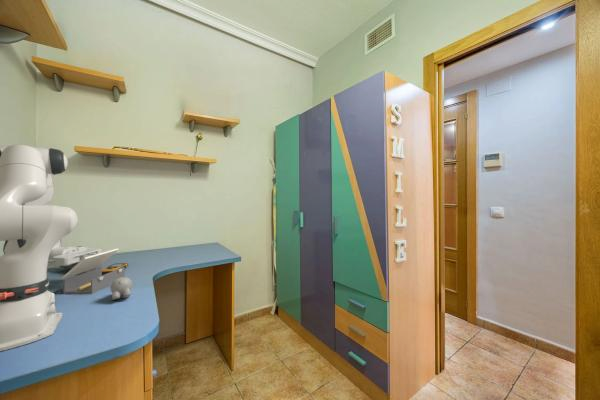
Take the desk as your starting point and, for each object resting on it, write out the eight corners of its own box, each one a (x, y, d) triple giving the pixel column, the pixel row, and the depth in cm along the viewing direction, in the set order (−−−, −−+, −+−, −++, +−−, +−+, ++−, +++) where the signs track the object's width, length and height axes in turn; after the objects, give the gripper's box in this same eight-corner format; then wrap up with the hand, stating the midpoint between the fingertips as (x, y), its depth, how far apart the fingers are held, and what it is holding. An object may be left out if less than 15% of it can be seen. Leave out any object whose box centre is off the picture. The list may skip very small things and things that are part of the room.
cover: (85, 258, 101) (84, 257, 101) (62, 279, 101) (61, 278, 101) (119, 249, 121) (117, 248, 121) (99, 266, 121) (98, 265, 121)
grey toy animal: (131, 298, 104) (132, 278, 106) (132, 296, 95) (132, 274, 98) (110, 301, 99) (111, 281, 102) (109, 300, 91) (110, 277, 93)
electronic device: (96, 277, 125) (96, 271, 125) (113, 268, 140) (113, 263, 140) (114, 276, 126) (114, 270, 126) (128, 267, 142) (128, 262, 142)
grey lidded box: (94, 293, 101) (94, 279, 101) (63, 294, 101) (63, 280, 101) (126, 278, 121) (126, 267, 121) (100, 278, 121) (100, 267, 121)
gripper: (43, 254, 100) (76, 254, 101) (84, 245, 120) (112, 245, 121) (42, 269, 100) (76, 269, 101) (84, 257, 120) (112, 257, 121)
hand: (96, 256), depth 111 cm, fingers closed, pressing on cover
